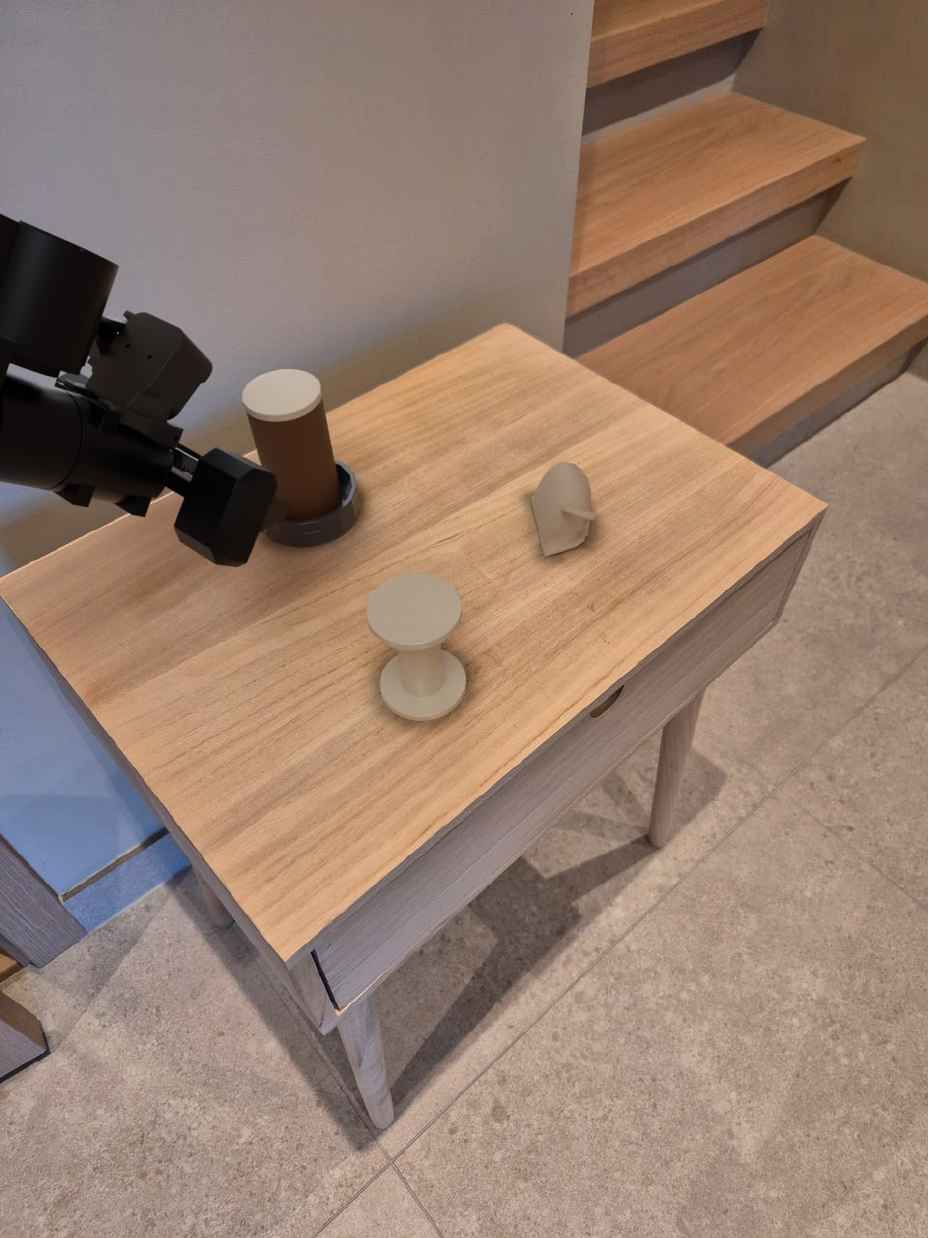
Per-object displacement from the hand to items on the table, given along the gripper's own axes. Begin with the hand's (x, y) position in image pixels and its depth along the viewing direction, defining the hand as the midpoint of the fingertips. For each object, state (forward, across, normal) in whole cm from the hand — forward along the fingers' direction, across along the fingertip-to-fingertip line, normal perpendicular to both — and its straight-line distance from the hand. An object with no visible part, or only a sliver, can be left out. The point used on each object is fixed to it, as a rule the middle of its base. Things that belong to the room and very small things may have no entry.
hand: (241, 486), depth 61 cm
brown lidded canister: (+8, 0, 0) cm, 8 cm away
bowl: (+8, 0, +1) cm, 8 cm away
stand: (+3, -19, +6) cm, 20 cm away
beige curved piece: (+16, -18, -6) cm, 24 cm away
